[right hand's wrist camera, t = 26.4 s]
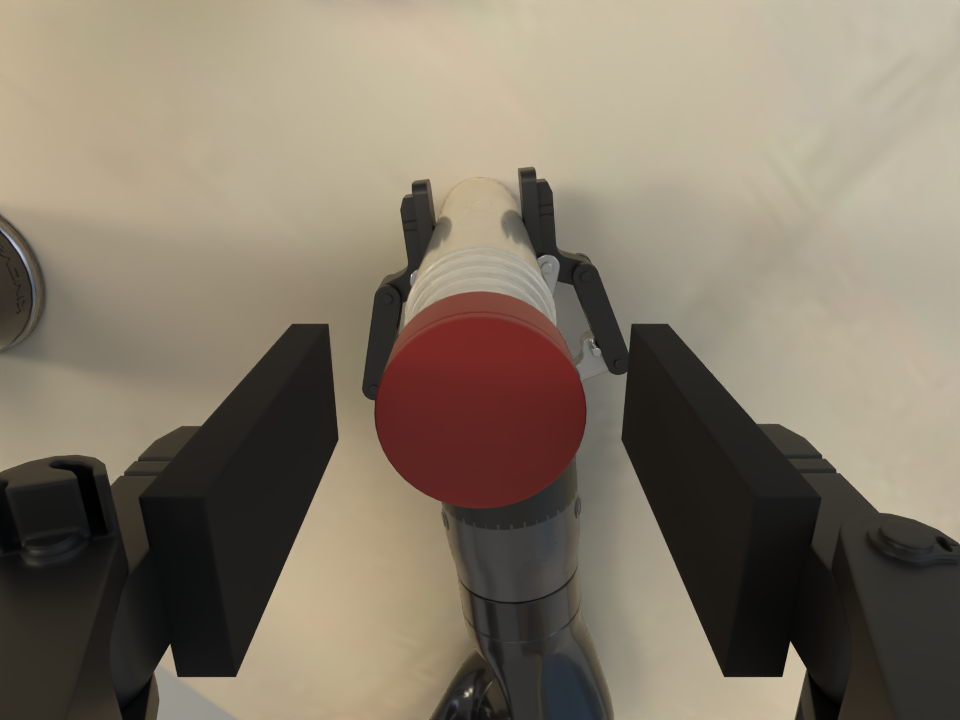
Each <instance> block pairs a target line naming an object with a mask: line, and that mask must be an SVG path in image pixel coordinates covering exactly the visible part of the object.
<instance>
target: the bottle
mask: <svg viewBox="0 0 960 720" xmlns="http://www.w3.org/2000/svg"><path fill="white" fill-rule="evenodd" d="M479 291H486V292H495V293H501V294H505V295H509V296H512V297H515V298H517V299H520V300H522V301H524V302H526V303H528V304H530V305H532V306H533V307H535V308H536V309H538V310H539V311H540V312H542V313H543V314H544V315H545V316H546V317H547V318H548V319H549V320H550V321H551V322H552V323H553V324H554V325H555V326H556V309H555V304H554V300H553V297H552V294H551V291H550V289H549V286H548V284H547V281H546V279H545V276H544V274H543V271H542V269H541V266H540V263H539V261H538V258H537V256H536V253H535V251H534V248H533V246H532V243H531V241H530V238H529V236H528V233H527V231H526V228H525V225H524V223H523V220H522V218H521V215H520V213H519V210H518V208H517V205H516V203H515V200H514V198H513V196H512V195H511V193H510V192H509V191H508V190H507V189H506V188H505V187H504V186H503V185H502V184H500V183H499V182H497V181H495V180H492V179H488V178H472V179H469V180H466V181H464V182H462V183H460V184H459V185H457V186H456V187H455V188H454V189H453V190H452V191H451V192H450V194H449V195H448V197H447V199H446V201H445V203H444V206H443V208H442V211H441V214H440V216H439V219H438V221H437V224H436V226H435V229H434V232H433V234H432V237H431V239H430V242H429V244H428V247H427V249H426V252H425V255H424V257H423V260H422V262H421V265H420V267H419V270H418V272H417V275H416V278H415V280H414V283H413V285H412V288H411V290H410V293H409V296H408V299H407V302H406V307H405V314H404V327H405V326H406V325H407V324H408V323H409V322H410V321H411V319H412V318H413V317H414V316H416V315H417V314H418V313H419V312H421V311H422V310H423V309H424V308H426V307H428V306H429V305H431V304H433V303H434V302H436V301H439V300H441V299H443V298H446V297H449V296H452V295H456V294H459V293H466V292H479Z"/></svg>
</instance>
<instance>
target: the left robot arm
mask: <svg viewBox="0 0 960 720" xmlns="http://www.w3.org/2000/svg"><path fill="white" fill-rule="evenodd" d="M518 176H519V188H520V199H521V211H522V220H523V223H524V225H525V228H526V231H527V233H528V236H529V238H530V241H531V243H532V246H533V248H534V251H535V253H536V256H537V258H538V261H539V263H540V266H541V269H542V271H543V274H544V276H545V279H546V281H547V284H548V286H549V289H550V291H551V294H552V297H553V296H554V292H555V287H556V283H557V281H559V282H563V283H567V284H571V285H573V286H574V288H575V291H576V293H577V296H578V299H579V301H580V304H581V306H582V309H583V311H584V314H585V316H586V319H587V321H588V324H589V327H590V329H591V330H590V331H587V332H585V333H584V334H583V335H582V336H581V339H580V346H581V351H580V354H579V355H578V356H577V357H576V358H575V359H573V362H574V365H575V367H576V370H577V373H578V375H579V378H580V381H583V380H586V379H588V378H591V377H593V376H596V375H598V374H601V373H603V372H606V371H610V372H611V373H613V374H615V375H621V374H624V373H626V372H627V371H628V359H629V353H628V350H627V348H626V345H625V342H624V340H623V337H622V334H621V332H620V329H619V326H618V324H617V321H616V318H615V316H614V313H613V310H612V308H611V305H610V302H609V300H608V297H607V294H606V292H605V289H604V286H603V284H602V281H601V278H600V276H599V273H598V271H597V269H596V268H595V266H594V265H593V264H592V263H591V261H590V260H589V258H588V257H587V256H586V255H584V254H581V253H578V254H571V253H567V252H564V251H561V250H559V249H558V248H557V246H556V238H555V223H554V208H553V194H552V190H551V188H550V186H549V184H548V182H547V181H546V180H545V179H536V171H535V168H534V167H527V168H518ZM400 211H401V217H402V223H403V230H404V237H405V243H406V250H407V256H408V266H407V267H406V268H405V269H404V270H402V271H400V272H398V273H396V274H392V275H388V276H387V277H385V278H384V280H383V281H382V283H381V285H380V286H379V288H378V290H377V292H376V294H375V298H374V306H373V313H372V320H371V328H370V335H369V342H368V350H367V357H366V364H365V372H364V379H363V387H362V390H363V393H364V395H365V396H366V397H367V398H368V399H371V400H375V399H376V394H377V390H378V386H379V384H380V381H381V378H382V375H383V373H384V370H385V367H386V365H387V362H388V359H389V356H390V354H391V351H392V348H393V346H394V344H395V342H396V340H397V338H398V333H399V327H400V320H401V313H402V307H403V302H406V301H407V299H408V296H409V293H410V290H411V288H412V285H413V283H414V280H415V278H416V275H417V272H418V270H419V267H420V265H421V262H422V260H423V257H424V255H425V252H426V249H427V247H428V244H429V242H430V239H431V237H432V234H433V232H434V229H435V226H436V221H435V213H434V206H433V199H432V191H431V184H430V180H429V179H426V180H417V181H414V182H413V183H412V194H409V195H406V196H405V197H404V198H403V201H402V205H401V210H400ZM43 299H44V291H43V283H42V278H41V274H40V271H39V268H38V265H37V263H36V260H35V258H34V256H33V254H32V253H31V251H30V249H29V248H28V246H27V245H26V243H25V242H24V240H23V239H22V238H21V237H20V235H19V234H18V233H17V232H16V231H15V230H14V229H13V228H12V227H11V226H10V225H9V224H8V223H7V222H6V221H4V220H3V219H2V218H1V217H0V352H2V351H4V350H6V349H8V348H10V347H12V346H14V345H16V344H18V343H19V342H21V341H22V340H23V339H25V338H26V337H27V336H28V335H29V334H30V333H31V331H32V330H33V329H34V327H35V326H36V324H37V322H38V320H39V318H40V315H41V311H42V307H43ZM580 507H581V505H580V497H579V495H578V490H577V474H576V459H575V456H574V458H573V459H572V461H571V462H570V464H569V465H568V467H567V468H566V469H565V470H564V472H563V473H562V474H561V475H560V476H559V477H558V478H557V479H556V480H555V481H554V482H552V483H551V484H550V485H549V486H547V487H546V488H545V489H543V490H542V491H540V492H539V493H537V494H535V495H533V496H531V497H529V498H527V499H524V500H522V501H519V502H516V503H513V504H509V505H505V506H500V507H493V508H468V507H461V506H456V505H451V504H448V503H445V502H442V519H443V523H444V526H445V527H446V532H447V538H448V542H449V546H450V549H451V552H452V555H453V558H454V561H455V564H456V569H457V575H458V581H459V588H460V595H461V601H462V608H463V614H464V619H465V624H466V628H467V631H468V634H469V636H470V639H471V641H472V643H473V645H474V647H475V649H476V650H474V651H473V652H472V653H471V655H470V656H469V657H468V658H467V659H466V661H465V662H464V663H463V664H462V666H461V668H460V669H459V671H458V672H457V674H456V675H455V677H454V678H453V680H452V682H451V683H450V685H449V687H448V689H447V690H446V692H445V694H444V695H443V697H442V699H441V701H440V702H439V704H438V706H437V707H436V709H435V711H434V713H433V714H432V716H431V717H430V719H429V720H614V713H613V707H612V702H611V698H610V694H609V690H608V686H607V683H606V680H605V677H604V674H603V671H602V668H601V666H600V663H599V660H598V657H597V654H596V651H595V648H594V645H593V642H592V639H591V637H590V635H589V632H588V630H587V628H586V625H585V623H584V620H583V618H582V615H581V605H580V585H579V570H578V542H579V532H580V520H579V516H580Z"/></svg>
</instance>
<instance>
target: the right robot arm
mask: <svg viewBox="0 0 960 720" xmlns="http://www.w3.org/2000/svg"><path fill="white" fill-rule="evenodd" d="M337 442H338V428H337V416H336V405H335V394H334V382H333V371H332V359H331V348H330V337H329V325H328V324H292V325H291V326H290V327H289V328H288V329H287V330H286V332H285V333H284V334H283V335H282V336H281V337H280V338H279V339H278V341H277V342H276V343H275V344H274V345H273V346H272V347H271V349H270V350H269V351H268V352H267V353H266V354H265V355H264V356H263V358H262V359H261V360H260V361H259V362H258V363H257V364H256V365H255V367H254V368H253V369H252V370H251V371H250V372H249V373H248V374H247V376H246V377H245V378H244V379H243V380H242V381H241V382H240V383H239V385H238V386H237V387H236V388H235V389H234V390H233V391H232V392H231V394H230V395H229V396H228V397H227V398H226V399H225V400H224V401H223V403H222V404H221V405H220V406H219V407H218V408H217V409H216V411H215V412H214V413H213V414H212V415H211V416H210V417H209V418H208V420H207V421H206V422H205V423H204V424H203V425H202V426H181V427H180V428H178V429H176V430H174V431H172V432H170V433H169V434H167V435H165V436H163V437H161V438H159V439H158V440H156V441H155V442H154V443H153V444H152V445H151V446H150V447H149V448H148V449H147V450H146V451H145V452H144V453H143V454H142V455H141V456H140V457H139V458H138V461H135V462H134V463H133V464H132V465H131V466H130V467H129V468H128V469H127V470H126V471H125V472H124V476H120V477H119V478H118V479H117V480H116V481H115V482H114V483H113V484H112V485H111V486H110V483H109V479H108V475H107V471H106V466H105V464H104V463H102V462H101V461H99V460H98V459H96V458H94V457H87V456H81V455H68V456H54V457H49V458H44V459H40V460H35V461H30V462H27V463H24V464H21V465H19V466H16V467H13V468H10V469H7V470H4V471H3V472H1V473H0V720H156V719H157V712H158V706H159V694H158V686H157V682H156V678H155V674H154V670H155V668H156V667H157V665H158V663H159V662H160V660H161V658H162V656H163V655H164V653H165V651H166V650H167V648H168V646H169V644H171V649H172V653H173V658H174V662H175V667H176V672H177V676H178V677H236V675H237V673H238V671H239V668H240V666H241V664H242V661H243V659H244V657H245V654H246V652H247V650H248V648H249V645H250V643H251V641H252V638H253V636H254V634H255V631H256V629H257V627H258V624H259V622H260V620H261V617H262V615H263V613H264V611H265V608H266V606H267V604H268V601H269V599H270V597H271V594H272V592H273V590H274V587H275V585H276V583H277V580H278V578H279V576H280V574H281V571H282V569H283V567H284V564H285V562H286V560H287V557H288V555H289V553H290V550H291V548H292V546H293V543H294V541H295V539H296V537H297V534H298V532H299V530H300V527H301V525H302V523H303V520H304V518H305V516H306V513H307V511H308V509H309V507H310V504H311V502H312V500H313V497H314V495H315V493H316V490H317V488H318V486H319V483H320V481H321V479H322V476H323V474H324V472H325V470H326V467H327V465H328V463H329V460H330V458H331V456H332V453H333V451H334V449H335V446H336V444H337ZM622 442H623V444H624V446H625V449H626V451H627V453H628V456H629V458H630V460H631V463H632V465H633V467H634V470H635V472H636V474H637V476H638V479H639V481H640V483H641V486H642V488H643V490H644V493H645V495H646V497H647V500H648V502H649V504H650V507H651V509H652V511H653V513H654V516H655V518H656V520H657V523H658V525H659V527H660V530H661V532H662V534H663V537H664V539H665V541H666V543H667V546H668V548H669V550H670V553H671V555H672V557H673V560H674V562H675V564H676V567H677V569H678V571H679V574H680V576H681V578H682V580H683V583H684V585H685V587H686V590H687V592H688V594H689V597H690V599H691V601H692V604H693V606H694V608H695V611H696V613H697V615H698V617H699V620H700V622H701V624H702V627H703V629H704V631H705V634H706V636H707V638H708V641H709V643H710V645H711V648H712V650H713V652H714V654H715V657H716V659H717V661H718V664H719V666H720V668H721V671H722V673H723V675H724V677H782V676H783V672H784V667H785V662H786V658H787V653H788V649H789V644H790V641H791V643H792V644H793V646H794V648H795V650H796V651H797V653H798V655H799V656H800V658H801V660H802V661H803V663H804V665H805V667H806V668H807V670H806V674H805V678H804V682H803V686H802V691H801V695H800V699H799V703H798V708H797V712H796V716H795V720H960V544H959V543H958V542H956V541H955V540H953V539H951V538H950V537H948V536H947V535H945V534H944V533H942V532H941V531H939V530H937V529H935V528H933V527H930V526H928V525H925V524H923V523H921V522H918V521H916V520H913V519H909V518H905V517H901V516H897V515H893V514H887V513H879V512H878V511H877V510H876V509H875V508H874V507H873V506H872V505H871V504H870V503H869V502H868V501H867V500H866V499H865V498H864V497H863V496H862V495H861V494H860V493H859V492H858V491H857V490H856V489H855V488H854V487H853V486H852V485H851V484H850V483H849V482H848V481H847V480H846V479H845V478H844V477H843V476H842V475H841V474H840V473H836V469H835V468H834V467H833V466H832V465H831V464H830V463H829V462H828V461H827V460H826V459H822V455H821V454H820V453H819V452H818V451H817V450H816V449H815V448H814V447H813V446H812V445H811V444H810V443H809V442H808V441H807V440H806V439H805V438H803V437H802V436H800V435H798V434H796V433H794V432H792V431H790V430H789V429H787V428H785V427H783V426H781V425H779V424H756V423H755V422H754V421H753V420H752V418H751V417H750V416H749V415H748V414H747V413H746V412H745V411H744V409H743V408H742V407H741V406H740V405H739V404H738V403H737V401H736V400H735V399H734V398H733V397H732V396H731V395H730V394H729V392H728V391H727V390H726V389H725V388H724V387H723V386H722V385H721V383H720V382H719V381H718V380H717V379H716V378H715V377H714V376H713V374H712V373H711V372H710V371H709V370H708V369H707V368H706V367H705V365H704V364H703V363H702V362H701V361H700V360H699V359H698V358H697V356H696V355H695V354H694V353H693V352H692V351H691V350H690V349H689V347H688V346H687V345H686V344H685V343H684V342H683V341H682V339H681V338H680V337H679V336H678V335H677V334H676V333H675V332H674V330H673V329H672V328H671V327H670V326H669V325H668V324H632V325H631V337H630V348H629V359H628V371H627V382H626V394H625V405H624V416H623V428H622Z"/></svg>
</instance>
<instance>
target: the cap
mask: <svg viewBox="0 0 960 720" xmlns="http://www.w3.org/2000/svg"><path fill="white" fill-rule="evenodd" d="M374 414H375V426H376V430H377V434H378V438H379V441H380V444H381V446H382V449H383V451H384V453H385V454H386V456H387V458H388V460H389V461H390V463H391V464H392V465H393V467H394V468H395V469H396V471H397V472H398V473H399V474H400V475H401V476H402V477H403V478H404V479H405V480H406V481H407V482H408V483H410V484H411V485H412V486H413V487H415V488H416V489H418V490H419V491H421V492H423V493H424V494H426V495H428V496H430V497H432V498H434V499H436V500H439V501H442V502H445V503H448V504H451V505H456V506H461V507H468V508H493V507H500V506H505V505H509V504H513V503H516V502H519V501H522V500H524V499H527V498H529V497H531V496H533V495H535V494H537V493H539V492H540V491H542V490H543V489H545V488H546V487H547V486H549V485H550V484H551V483H552V482H554V481H555V480H556V479H557V478H558V477H559V476H560V475H561V474H562V473H563V472H564V470H565V469H566V468H567V467H568V465H569V464H570V462H571V461H572V459H573V458H574V456H575V454H576V452H577V450H578V448H579V446H580V443H581V441H582V438H583V435H584V430H585V424H586V401H585V394H584V391H583V387H582V383H581V381H580V378H579V375H578V373H577V370H576V367H575V365H574V362H573V359H572V357H571V354H570V351H569V349H568V347H567V344H566V342H565V340H564V338H563V337H562V335H561V333H560V332H559V330H558V329H557V328H556V326H555V325H554V324H553V323H552V322H551V321H550V320H549V319H548V318H547V317H546V316H545V315H544V314H543V313H542V312H540V311H539V310H538V309H536V308H535V307H533V306H532V305H530V304H528V303H526V302H524V301H522V300H520V299H517V298H515V297H512V296H509V295H505V294H501V293H495V292H486V291H479V292H466V293H459V294H456V295H452V296H449V297H446V298H443V299H441V300H439V301H436V302H434V303H433V304H431V305H429V306H428V307H426V308H424V309H423V310H422V311H421V312H419V313H418V314H417V315H416V316H414V317H413V318H412V319H411V321H410V322H409V323H408V324H407V325H406V326H405V327H404V329H403V330H402V332H401V333H400V334H399V336H398V338H397V340H396V342H395V344H394V346H393V348H392V351H391V354H390V356H389V359H388V362H387V365H386V367H385V370H384V373H383V375H382V378H381V381H380V384H379V386H378V390H377V394H376V399H375V413H374Z"/></svg>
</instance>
